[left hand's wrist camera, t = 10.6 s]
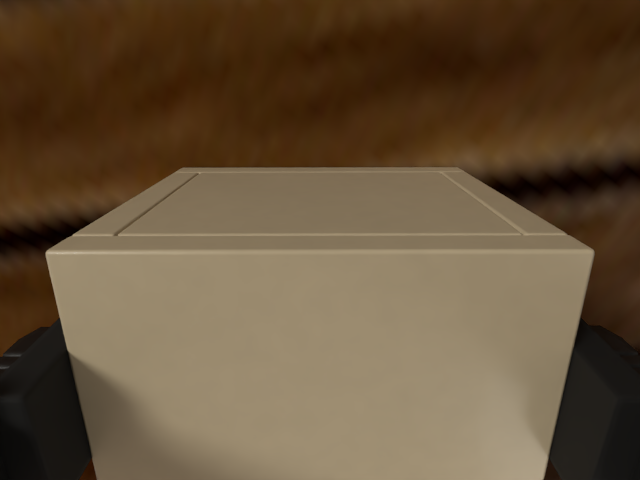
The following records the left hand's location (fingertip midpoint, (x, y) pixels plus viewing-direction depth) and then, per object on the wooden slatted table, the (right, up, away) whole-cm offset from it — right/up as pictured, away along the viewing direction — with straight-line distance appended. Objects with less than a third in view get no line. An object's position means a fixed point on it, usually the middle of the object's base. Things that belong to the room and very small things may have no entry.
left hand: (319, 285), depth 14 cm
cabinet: (0, -6, +5) cm, 8 cm away
